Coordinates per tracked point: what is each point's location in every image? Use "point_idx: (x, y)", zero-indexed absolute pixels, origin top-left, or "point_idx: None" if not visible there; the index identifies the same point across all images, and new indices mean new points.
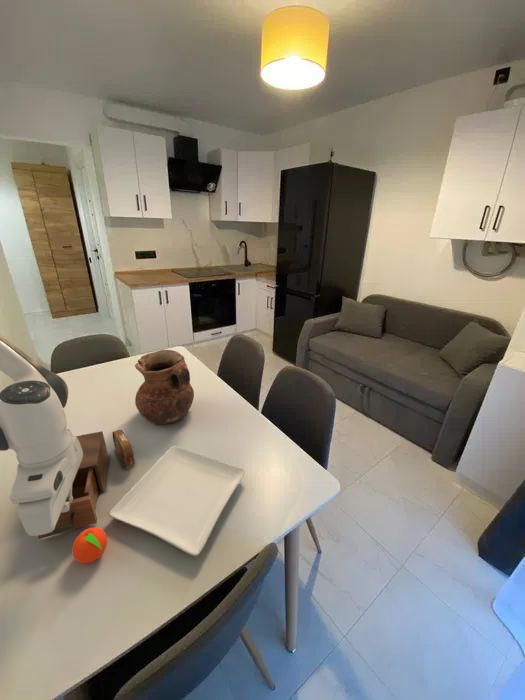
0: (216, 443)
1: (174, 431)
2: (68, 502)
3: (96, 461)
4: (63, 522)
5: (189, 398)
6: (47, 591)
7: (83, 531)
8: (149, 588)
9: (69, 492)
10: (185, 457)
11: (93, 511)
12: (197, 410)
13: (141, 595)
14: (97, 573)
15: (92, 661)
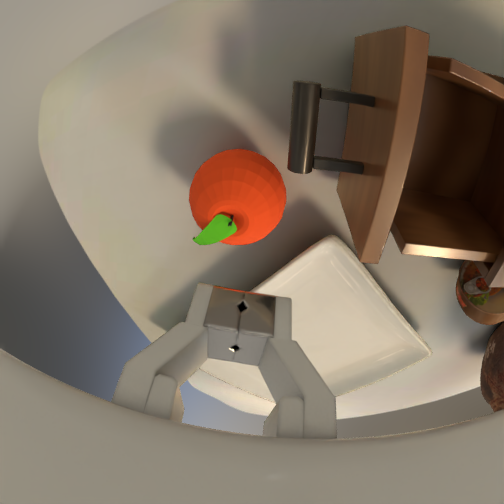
0: (389, 379)
1: (472, 336)
2: (213, 357)
3: (500, 285)
4: (359, 120)
5: (484, 398)
6: (178, 83)
7: (261, 203)
8: (142, 272)
9: (270, 389)
10: (390, 360)
11: (346, 218)
12: (478, 362)
13: (133, 261)
14: (188, 189)
15: (62, 198)
